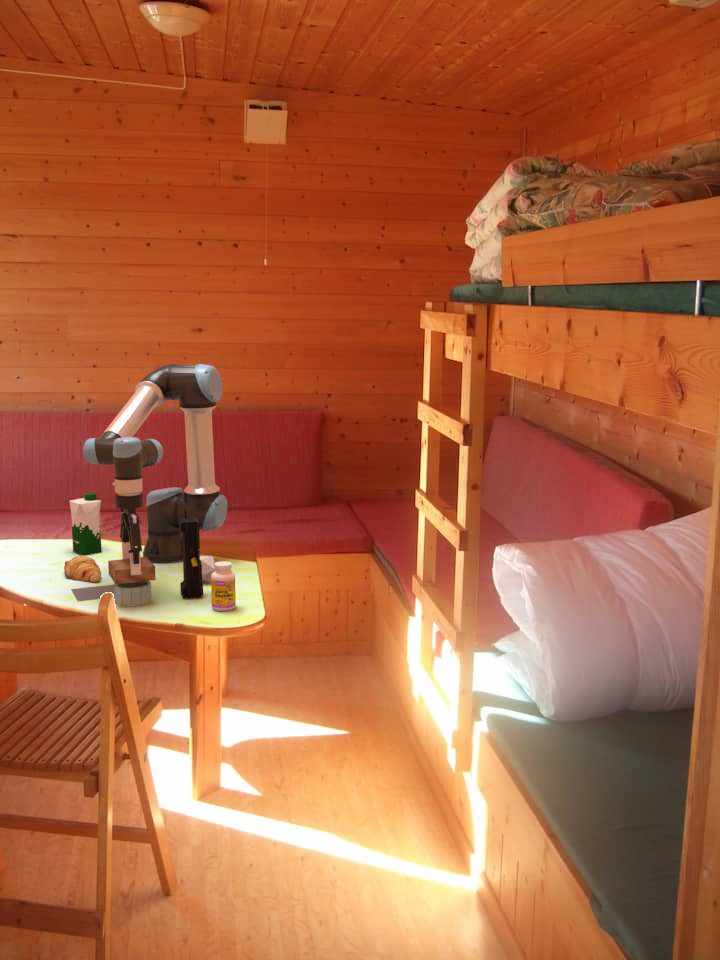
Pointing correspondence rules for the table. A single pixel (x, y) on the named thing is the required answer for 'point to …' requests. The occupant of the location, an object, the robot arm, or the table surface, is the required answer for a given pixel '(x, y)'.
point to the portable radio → (191, 558)
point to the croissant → (82, 569)
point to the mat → (91, 592)
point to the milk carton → (86, 524)
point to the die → (207, 568)
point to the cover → (122, 571)
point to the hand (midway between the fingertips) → (131, 569)
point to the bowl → (132, 593)
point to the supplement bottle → (223, 587)
